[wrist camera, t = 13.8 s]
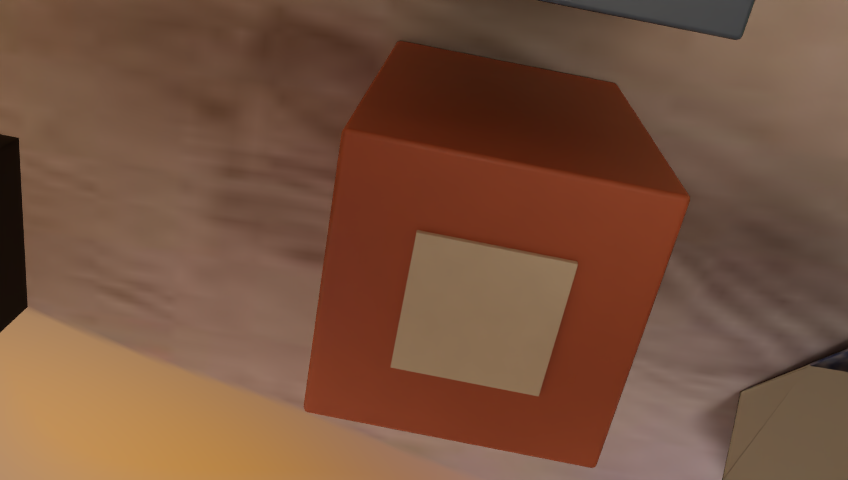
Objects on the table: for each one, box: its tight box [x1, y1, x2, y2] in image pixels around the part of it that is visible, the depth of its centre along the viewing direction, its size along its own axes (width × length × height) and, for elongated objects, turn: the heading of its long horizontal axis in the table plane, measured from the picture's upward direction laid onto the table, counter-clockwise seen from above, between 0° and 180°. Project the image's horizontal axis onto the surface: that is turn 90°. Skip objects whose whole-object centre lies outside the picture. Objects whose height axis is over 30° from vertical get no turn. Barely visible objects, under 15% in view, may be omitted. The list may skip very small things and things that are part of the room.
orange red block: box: [304, 41, 690, 468], centre depth 15 cm, size 5×5×7 cm
